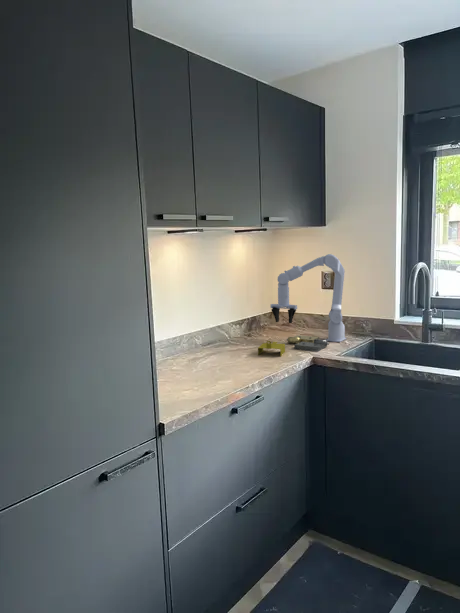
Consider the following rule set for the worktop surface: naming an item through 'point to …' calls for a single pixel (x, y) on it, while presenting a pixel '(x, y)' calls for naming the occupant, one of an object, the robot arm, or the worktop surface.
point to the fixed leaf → (312, 345)
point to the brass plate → (301, 339)
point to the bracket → (271, 347)
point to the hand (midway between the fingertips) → (283, 322)
